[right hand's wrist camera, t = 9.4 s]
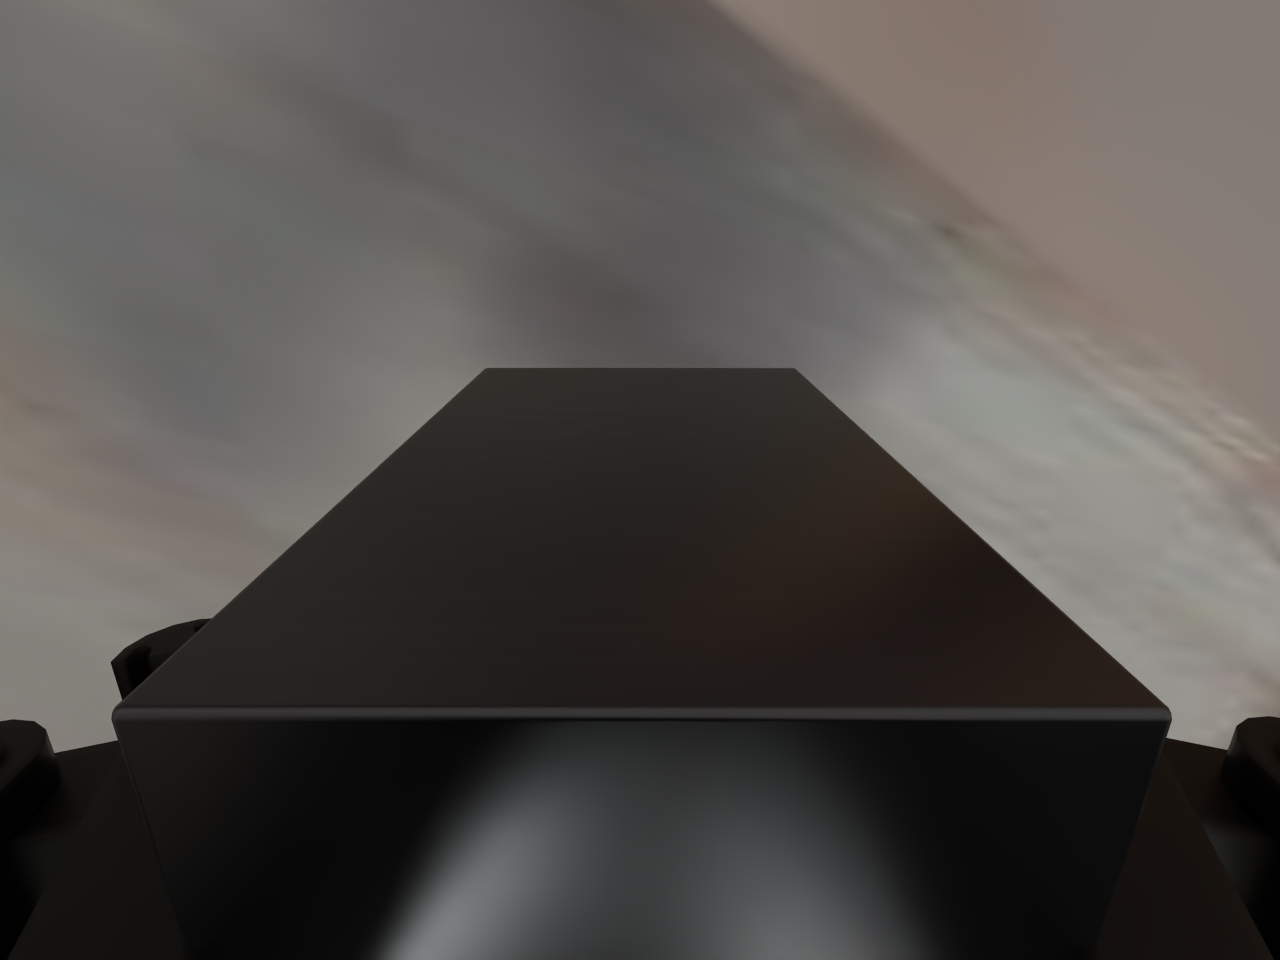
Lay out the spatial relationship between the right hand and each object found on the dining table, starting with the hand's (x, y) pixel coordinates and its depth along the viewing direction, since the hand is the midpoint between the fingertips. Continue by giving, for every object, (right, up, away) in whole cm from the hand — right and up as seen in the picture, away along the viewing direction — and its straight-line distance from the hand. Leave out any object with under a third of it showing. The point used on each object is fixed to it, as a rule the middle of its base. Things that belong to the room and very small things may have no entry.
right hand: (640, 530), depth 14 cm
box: (0, -7, +4) cm, 8 cm away
